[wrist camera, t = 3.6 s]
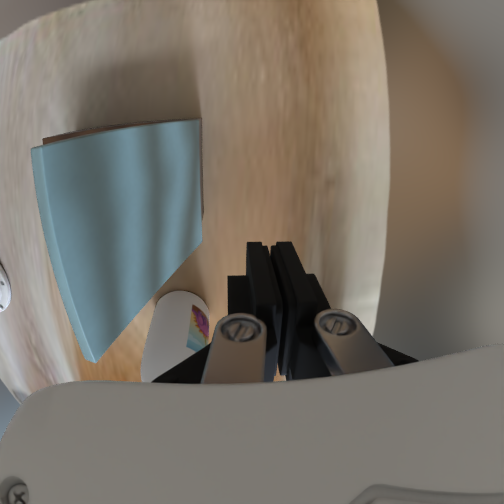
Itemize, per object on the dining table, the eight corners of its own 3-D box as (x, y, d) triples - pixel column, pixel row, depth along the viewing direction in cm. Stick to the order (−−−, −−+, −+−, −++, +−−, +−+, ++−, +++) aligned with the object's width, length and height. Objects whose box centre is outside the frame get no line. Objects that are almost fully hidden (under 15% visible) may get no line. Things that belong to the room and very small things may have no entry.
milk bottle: (154, 327, 43) (128, 444, 25) (157, 284, 40) (123, 406, 22) (205, 335, 44) (201, 455, 26) (213, 293, 41) (211, 420, 23)
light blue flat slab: (84, 359, 14) (95, 363, 14) (29, 148, 9) (41, 146, 9) (194, 240, 29) (202, 241, 28) (190, 119, 24) (199, 119, 24)
